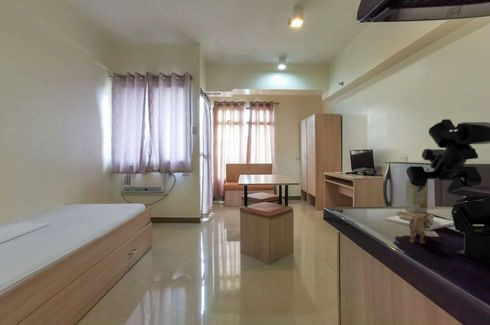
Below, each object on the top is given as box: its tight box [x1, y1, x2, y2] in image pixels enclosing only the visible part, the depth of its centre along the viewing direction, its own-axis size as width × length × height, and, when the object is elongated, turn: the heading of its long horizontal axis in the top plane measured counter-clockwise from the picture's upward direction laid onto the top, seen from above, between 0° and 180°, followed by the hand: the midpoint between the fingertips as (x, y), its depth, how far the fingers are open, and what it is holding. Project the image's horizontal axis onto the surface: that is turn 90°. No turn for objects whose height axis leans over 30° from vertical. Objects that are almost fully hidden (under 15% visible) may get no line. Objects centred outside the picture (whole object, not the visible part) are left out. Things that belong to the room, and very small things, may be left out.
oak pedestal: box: [398, 209, 434, 221], centre depth 101 cm, size 8×8×3 cm
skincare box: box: [404, 179, 429, 213], centre depth 100 cm, size 6×4×12 cm
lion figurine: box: [409, 214, 433, 244], centre depth 80 cm, size 15×5×9 cm, turn 154°
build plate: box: [384, 215, 454, 231], centre depth 100 cm, size 18×16×1 cm
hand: (432, 191), depth 87 cm, fingers open, 9 cm apart
